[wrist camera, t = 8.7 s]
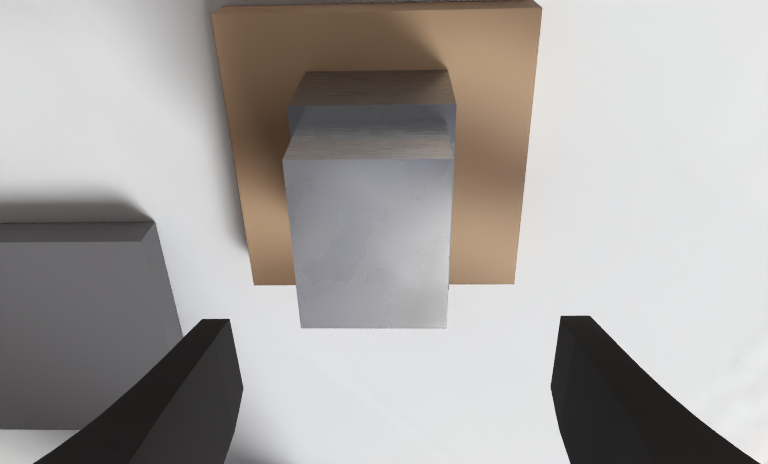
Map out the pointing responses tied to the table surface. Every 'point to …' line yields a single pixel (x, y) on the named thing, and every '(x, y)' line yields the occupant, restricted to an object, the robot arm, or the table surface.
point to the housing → (371, 197)
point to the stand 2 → (386, 52)
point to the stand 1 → (79, 319)
